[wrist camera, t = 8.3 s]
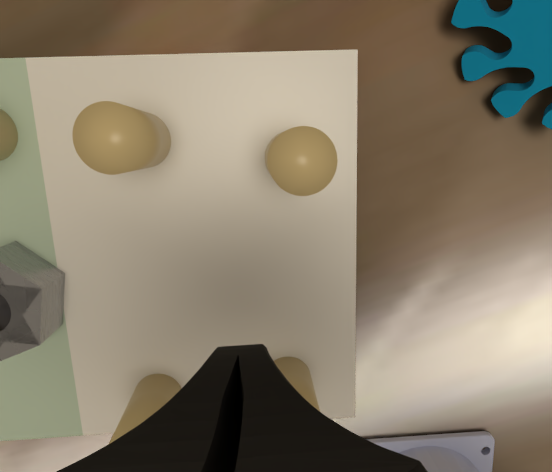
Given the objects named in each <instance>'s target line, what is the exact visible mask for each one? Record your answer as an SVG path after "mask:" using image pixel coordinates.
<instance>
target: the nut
mask: <svg viewBox="0 0 552 472" xmlns="http://www.w3.org/2000/svg"><path fill="white" fill-rule="evenodd" d="M64 286H65V273H64V272H63V271H61V270H60V269H58V268H57V267H55V266H54V265H52V264H51V263H49V262H48V261H46V260H45V259H43V258H42V257H40V256H39V255H37V254H36V253H34V252H33V251H31V250H30V249H28V248H27V247H25V246H24V245H22V244H20V243H19V242H17V241H14V242H11V243H9V244H7V245H4V246H2V247H0V361H2V360H5V359H7V358H10V357H12V356H15V355H17V354H20V353H22V352H25V351H27V350H29V349H32V348H34V347H37V346H39V345H41V344H42V343H43V342H44V341H45V340H46V339H47V338H48V337H49V336H50V335H51V334H53V333H54V332H55V331H56V330H57V329H58V328H59V327H60V326H61V325H62V324H63V310H64Z"/></svg>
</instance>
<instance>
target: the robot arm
mask: <svg viewBox="0 0 552 472" xmlns="http://www.w3.org/2000/svg"><path fill="white" fill-rule="evenodd" d="M494 444H495V441H494V438H493V436H492V435H491V434H490V433H489V432H487V431H478V432H464V433H450V434H435V435H421V436H407V437H393V438H379V439H364V438H362V437H360V436H358V435H356V434H354V433H352V432H351V431H349V430H347V429H345V428H343V427H342V426H340V425H339V424H337V423H336V422H334V421H333V420H331V419H329V418H328V417H326V416H325V415H324V414H322V413H321V412H320V411H318V410H317V409H316V408H315V407H313V406H312V405H311V404H310V403H309V402H308V401H307V400H306V399H305V398H304V397H303V396H301V394H300V393H299V392H298V391H297V390H296V389H295V388H294V387H293V386H292V385H291V384H290V382H289V381H288V380H287V379H286V378H285V376H284V375H283V374H282V372H281V371H280V370H279V368H278V367H277V366H276V364H275V363H274V361H273V359H272V358H271V356H270V354H269V352H268V350H267V347H265V346H264V345H263V344H252V345H237V346H221V347H217V348H216V349H215V350H214V352H213V353H212V354H211V355H210V356H209V358H208V359H207V360H206V361H205V363H204V364H203V365H202V366H201V368H200V369H199V370H198V371H197V372H196V373H195V374H194V376H193V377H192V378H191V379H190V380H189V381H188V382H187V383H186V385H185V386H184V387H183V388H182V389H181V390H180V391H179V392H178V393H177V394H175V395H174V396H173V397H172V398H171V399H170V400H169V401H168V402H167V403H166V404H165V405H164V406H162V407H161V408H160V409H159V410H158V411H156V412H155V413H154V414H153V415H151V416H150V417H149V418H147V419H146V420H145V421H143V422H142V423H141V424H139V425H138V426H136V427H135V428H133V429H132V430H130V431H129V432H127V433H126V434H124V435H123V436H121V437H119V438H118V439H116V440H115V441H113V442H112V443H110V444H109V445H107V446H105V447H103V448H102V449H100V450H98V451H96V452H94V453H93V454H91V455H89V456H87V457H85V458H83V459H81V460H79V461H77V462H75V463H73V464H71V465H69V466H67V467H65V468H63V469H61V470H59V471H57V472H492V466H493V455H494ZM484 447H486V448H485V449H483V448H484ZM482 449H483V450H482Z"/></svg>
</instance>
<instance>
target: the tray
mask: <svg viewBox="0 0 552 472" xmlns="http://www.w3.org/2000/svg"><path fill="white" fill-rule="evenodd" d="M357 55H358V50H321V51H280V52H240V53H199V54H159V55H118V56H77V57H37V58H0V247H2V246H4V245H7V244H9V243H11V242H14V241H17V242H19V243H20V244H22V245H24V246H25V247H27V248H28V249H30V250H31V251H33V252H34V253H36V254H37V255H39V256H40V257H42V258H43V259H45V260H46V261H48V262H49V263H51V264H52V265H54V266H55V267H57V268H58V269H60V270H61V271H63V272H64V273H65V286H64V310H63V324H62V325H61V326H60V327H59V328H58V329H57V330H56V331H55V332H54V333H53V334H51V335H50V336H49V337H48V338H47V339H46V340H45V341H44V342H43V343H42V344H41V345H39V346H37V347H34V348H32V349H29V350H27V351H25V352H22V353H20V354H17V355H15V356H12V357H10V358H7V359H5V360H2V361H0V441H9V440H24V439H38V438H53V437H68V436H83V435H98V434H112V433H114V434H113V436H112V438H111V440H110V443H112V442H113V441H115V440H116V439H118V438H119V437H121V436H123V435H124V434H126V433H127V432H129V431H130V430H132V429H133V428H135V427H136V426H138V425H139V424H141V423H142V422H143V421H145V420H146V419H147V418H149V417H150V416H151V415H153V414H154V413H155V412H156V411H158V410H159V409H160V408H161V407H162V406H164V405H165V404H166V403H167V402H168V401H169V400H170V399H171V398H172V397H173V396H174V395H175V394H177V393H178V392H179V391H180V390H181V389H182V388H183V387H184V386H185V385H186V383H187V382H188V381H189V380H190V379H191V378H192V377H193V376H194V374H195V373H196V372H197V371H198V370H199V369H200V368H201V366H202V365H203V364H204V363H205V361H206V360H207V359H208V358H209V356H210V355H211V354H212V353H213V352H214V350H215V349H216V348H217V347H221V346H237V345H252V344H263V345H264V346H265V347H267V350H268V352H269V354H270V356H271V358H272V359H273V361H274V363H275V364H276V366H277V367H278V368H279V370H280V371H281V372H282V374H283V375H284V376H285V378H286V379H287V380H288V381H289V382H290V384H291V385H292V386H293V387H294V388H295V389H296V390H297V391H298V392H299V393H300V394H301V396H303V397H304V398H305V399H306V400H307V401H308V402H309V403H310V404H311V405H312V406H313V407H315V408H316V409H317V410H318V411H320V412H321V413H322V414H324V415H325V416H326V417H328V418H329V419H334V418H349V417H355V351H356V203H357ZM110 443H109V444H110Z"/></svg>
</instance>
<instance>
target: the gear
mask: <svg viewBox="0 0 552 472" xmlns="http://www.w3.org/2000/svg"><path fill="white" fill-rule="evenodd" d="M451 23H452V24H453V25H454V26H456V27H458V28H468V27H474V26H483V27H489V28H493V29H495V30H497V31H499V32H501V33H502V34H504V35H506V36H507V37H508V38H510V40H511V42H512V47H511V48H510V49H509V50H508V51H506V52H503V53H495V52H493V51H491V50H490V49H488V48H486V47H484V46H482V45H474V46H471V47H469V48H467V49H466V50H465V52H464V54H463V56H462V72H463V76H464V79H465V80H467V81H475V80H478V79H480V78H481V77H483V76H484V75H486V74H488V73H490V72H491V71H494V70H497V69H501V68H506V67H524V68H528V69H530V70H532V72H533V73H534V78H533V79H532V80H530V81H529V82H526V83H506V84H503V85H501V86H499V87H498V88H497V89H496V90H495V91H494V93H493V96H492V99H491V101H492V104H493V106H494V107H495V109H496V110H497V111H498V112H499V113H500V114H501V115H502V116H504V117H505V118H508V117H511V116H514V115H515V114H517V113H518V112H519V111H520V109H521V107H522V106H523V104H524V103H525V102H526V101H527V100H528V99H529V98H530V97H532V96H533V95H534V94H536V93H537V92H539V91H541V90H543V89H545V88H548V87H550V86H552V0H513V3H512V5H511V6H510V7H509V8H508V9H506V10H504V11H501V12H496V11H493V10H491V9H490V8H489V6H488V4H487V1H486V0H459V1H458V3H457V5H456V7H455V10H454V13H453V17H452V21H451ZM542 124H543V125H545V126H546V127H548V128H550V129H552V103H550V104H549V105H548V106H547V107H546V109H545V111H544V115H543V120H542Z"/></svg>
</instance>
